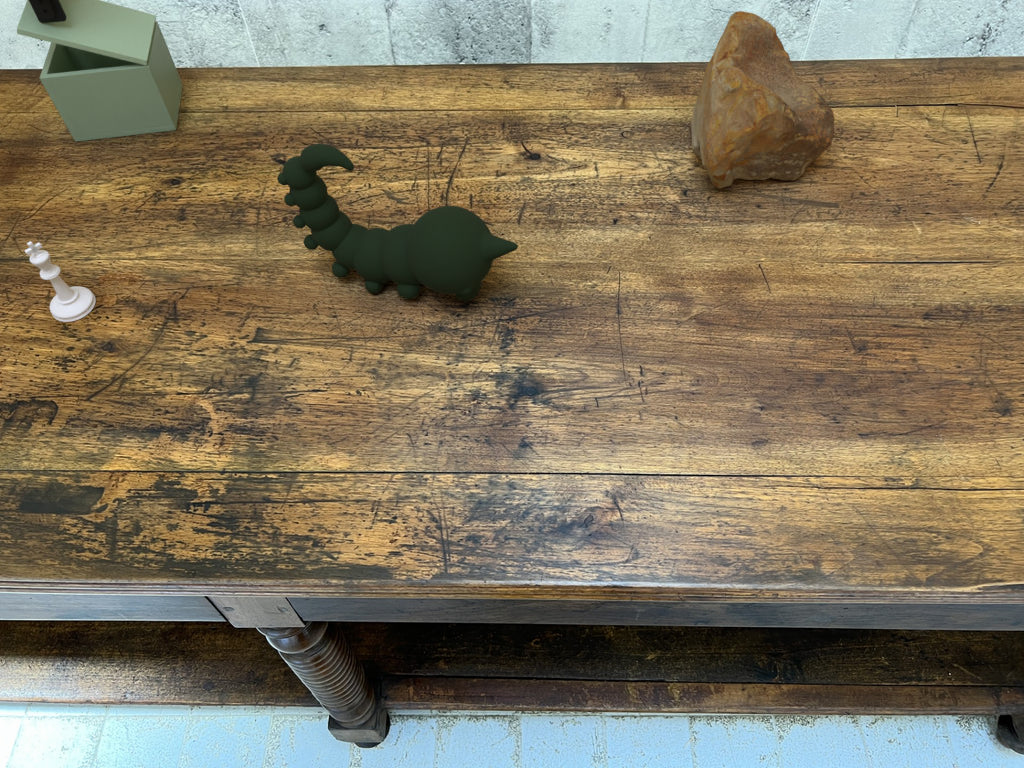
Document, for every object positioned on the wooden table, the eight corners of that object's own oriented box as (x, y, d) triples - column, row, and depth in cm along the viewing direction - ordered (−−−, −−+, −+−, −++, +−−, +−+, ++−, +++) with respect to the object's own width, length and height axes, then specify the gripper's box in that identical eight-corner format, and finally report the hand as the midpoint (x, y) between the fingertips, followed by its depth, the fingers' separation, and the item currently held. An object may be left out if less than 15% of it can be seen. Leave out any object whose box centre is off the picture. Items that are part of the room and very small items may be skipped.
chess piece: (104, 304, 94) (62, 241, 86) (65, 329, 92) (18, 267, 84) (82, 283, 96) (39, 220, 88) (43, 307, 94) (-4, 244, 86)
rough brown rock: (815, 234, 98) (866, 129, 86) (678, 208, 99) (710, 102, 87) (812, 119, 112) (856, 15, 100) (692, 98, 113) (721, -7, 101)
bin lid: (17, 34, 99) (14, -6, 95) (34, -12, 105) (32, -51, 101) (146, 66, 104) (149, 30, 101) (155, 20, 110) (158, -15, 107)
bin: (75, 142, 111) (39, 78, 103) (87, 95, 118) (54, 32, 110) (176, 130, 112) (148, 66, 104) (183, 84, 118) (157, 21, 110)
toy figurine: (310, 302, 95) (514, 332, 89) (250, 172, 80) (490, 196, 74) (341, 246, 101) (537, 270, 94) (290, 114, 86) (519, 132, 79)
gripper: (-36, -185, 92) (39, -25, 107) (-77, -118, 82) (12, 49, 97) (33, -189, 93) (99, -29, 107) (1, -122, 83) (78, 44, 97)
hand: (57, 6), depth 102 cm, fingers closed on bin lid, 5 cm apart
